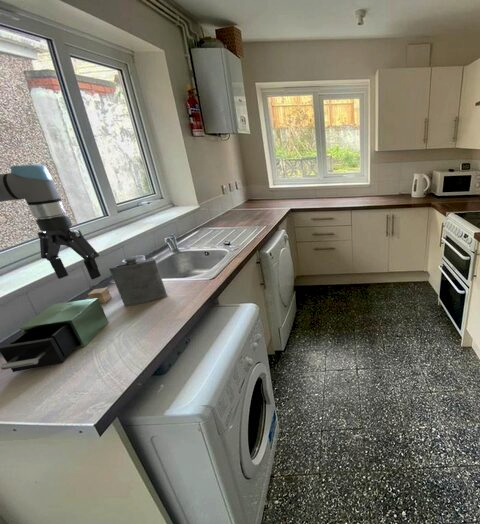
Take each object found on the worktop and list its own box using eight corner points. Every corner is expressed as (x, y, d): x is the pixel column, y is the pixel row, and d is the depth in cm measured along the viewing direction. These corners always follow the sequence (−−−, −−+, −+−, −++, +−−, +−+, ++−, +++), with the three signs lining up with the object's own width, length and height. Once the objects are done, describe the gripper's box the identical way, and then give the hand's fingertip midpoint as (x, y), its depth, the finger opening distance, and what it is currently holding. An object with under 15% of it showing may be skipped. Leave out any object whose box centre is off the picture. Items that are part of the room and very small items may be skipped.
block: (92, 304, 111) (87, 294, 110) (98, 299, 115) (94, 289, 114) (105, 302, 112) (101, 292, 110) (111, 297, 116) (107, 287, 114)
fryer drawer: (51, 374, 75) (37, 350, 72) (-1, 384, 72) (-18, 359, 69) (89, 336, 90) (79, 315, 87) (47, 343, 87) (35, 321, 84)
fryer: (84, 346, 86) (71, 320, 83) (35, 355, 84) (19, 327, 80) (108, 322, 99) (98, 297, 95) (66, 328, 96) (53, 304, 92)
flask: (166, 297, 113) (152, 255, 106) (123, 307, 107) (104, 263, 101) (167, 294, 116) (153, 252, 109) (125, 303, 111) (107, 260, 104)
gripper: (96, 212, 91) (120, 273, 99) (33, 214, 95) (61, 272, 104) (71, 218, 84) (99, 283, 93) (5, 220, 89) (37, 281, 97)
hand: (79, 277), depth 98 cm, fingers open, 13 cm apart
